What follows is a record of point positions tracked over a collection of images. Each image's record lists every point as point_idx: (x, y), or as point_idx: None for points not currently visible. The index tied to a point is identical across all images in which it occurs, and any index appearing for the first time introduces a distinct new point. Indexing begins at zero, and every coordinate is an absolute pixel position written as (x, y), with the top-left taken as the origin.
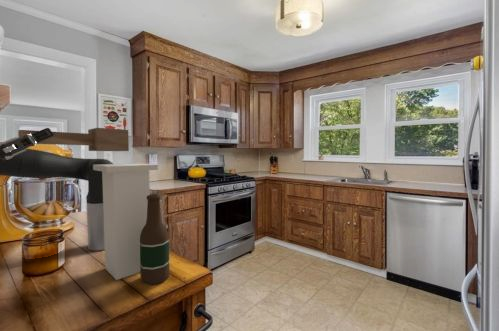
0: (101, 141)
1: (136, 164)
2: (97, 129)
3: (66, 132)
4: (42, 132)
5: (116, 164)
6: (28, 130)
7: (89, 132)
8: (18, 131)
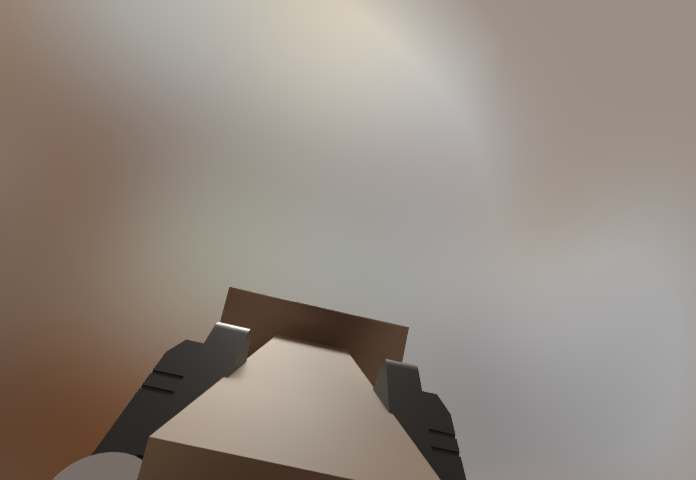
0: None
1: None
2: (404, 337)
3: (359, 370)
4: (454, 447)
5: None
6: (418, 453)
7: (251, 312)
8: (170, 464)
